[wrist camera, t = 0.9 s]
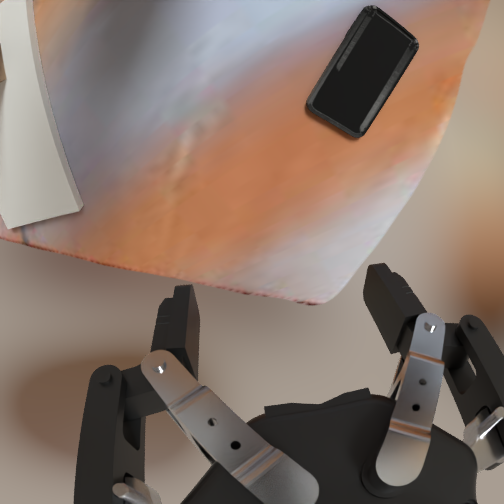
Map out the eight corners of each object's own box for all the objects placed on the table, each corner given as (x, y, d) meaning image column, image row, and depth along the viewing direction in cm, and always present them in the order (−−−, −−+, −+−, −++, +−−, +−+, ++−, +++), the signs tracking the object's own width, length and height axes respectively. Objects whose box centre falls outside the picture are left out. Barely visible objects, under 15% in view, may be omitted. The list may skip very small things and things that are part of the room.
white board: (-43, 41, 15) (-49, 43, 14) (31, -12, 15) (24, -13, 14) (12, 223, 34) (8, 229, 33) (83, 204, 34) (79, 211, 33)
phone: (421, 43, 24) (360, 141, 32) (416, 42, 25) (356, 138, 32) (369, 0, 21) (303, 107, 29) (365, 1, 22) (300, 105, 30)
